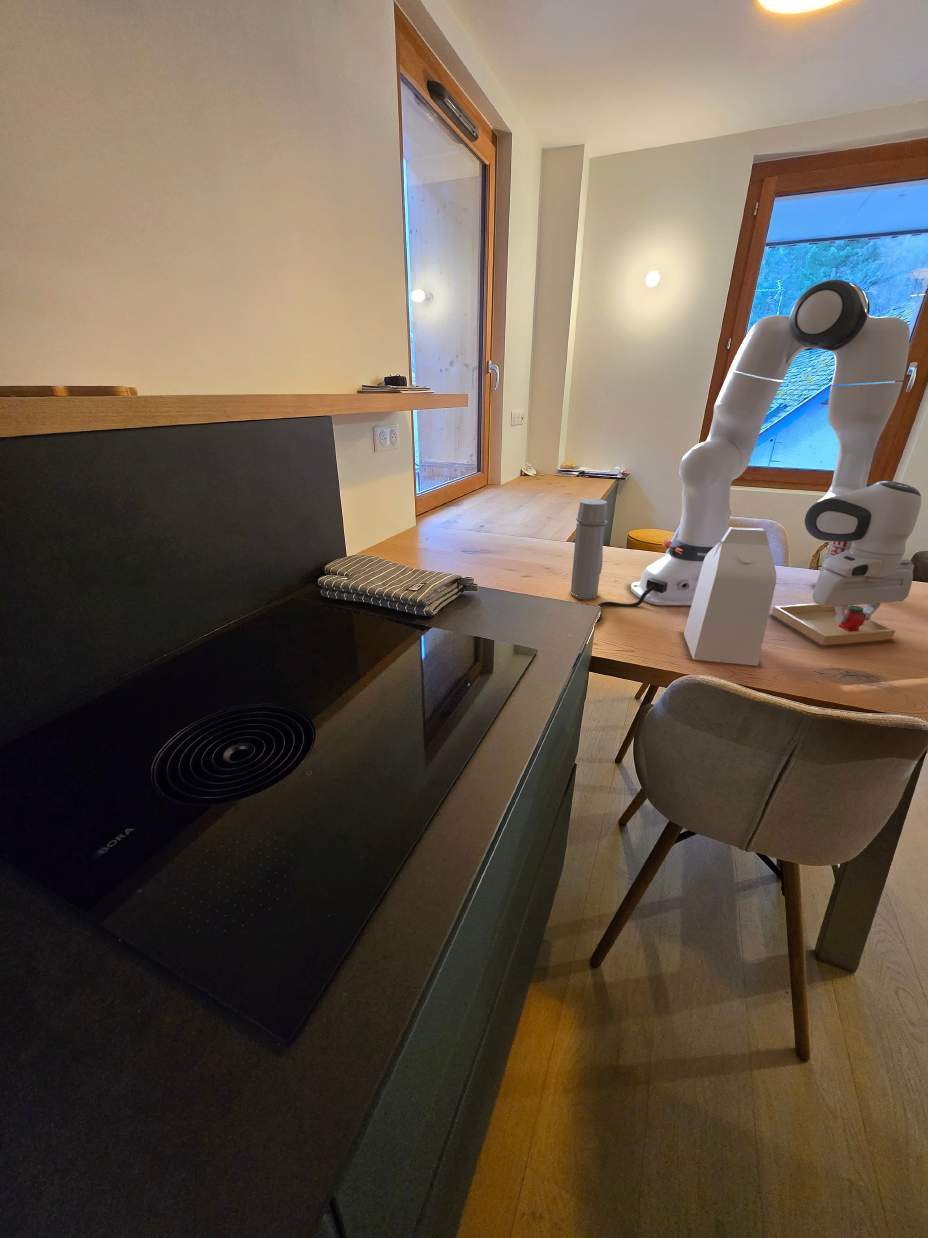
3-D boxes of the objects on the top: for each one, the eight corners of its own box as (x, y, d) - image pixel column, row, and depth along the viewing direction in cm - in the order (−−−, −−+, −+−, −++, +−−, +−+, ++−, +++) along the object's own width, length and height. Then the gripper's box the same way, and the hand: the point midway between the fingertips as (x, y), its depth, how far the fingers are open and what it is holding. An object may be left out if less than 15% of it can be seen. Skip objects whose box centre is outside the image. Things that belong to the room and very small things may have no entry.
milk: (741, 638, 108) (772, 522, 97) (757, 665, 98) (793, 539, 87) (683, 634, 111) (706, 519, 99) (693, 659, 100) (720, 535, 89)
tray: (821, 647, 104) (825, 636, 103) (770, 616, 118) (773, 606, 117) (891, 641, 106) (895, 630, 105) (833, 611, 120) (836, 601, 119)
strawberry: (847, 633, 108) (855, 612, 106) (831, 624, 112) (838, 604, 110) (865, 632, 109) (873, 611, 106) (849, 623, 113) (856, 603, 110)
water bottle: (584, 603, 127) (594, 506, 116) (563, 593, 133) (570, 500, 122) (609, 595, 131) (621, 501, 120) (587, 586, 137) (597, 495, 126)
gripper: (902, 554, 108) (880, 611, 113) (817, 559, 105) (799, 618, 111) (930, 563, 102) (906, 623, 108) (841, 569, 100) (821, 630, 106)
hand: (851, 620), depth 109 cm, fingers closed on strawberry, 4 cm apart
